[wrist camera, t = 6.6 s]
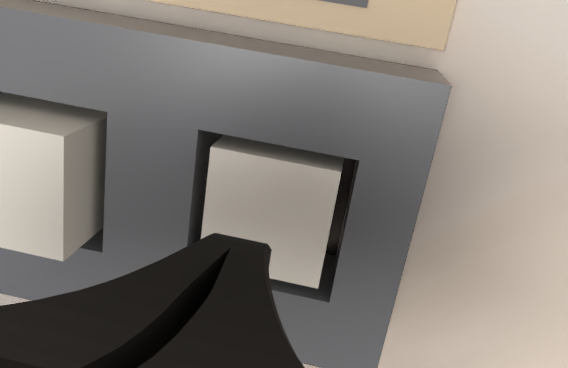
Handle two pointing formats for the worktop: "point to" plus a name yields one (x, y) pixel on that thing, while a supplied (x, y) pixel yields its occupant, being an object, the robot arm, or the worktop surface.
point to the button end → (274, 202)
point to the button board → (240, 123)
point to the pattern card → (348, 16)
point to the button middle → (50, 175)
